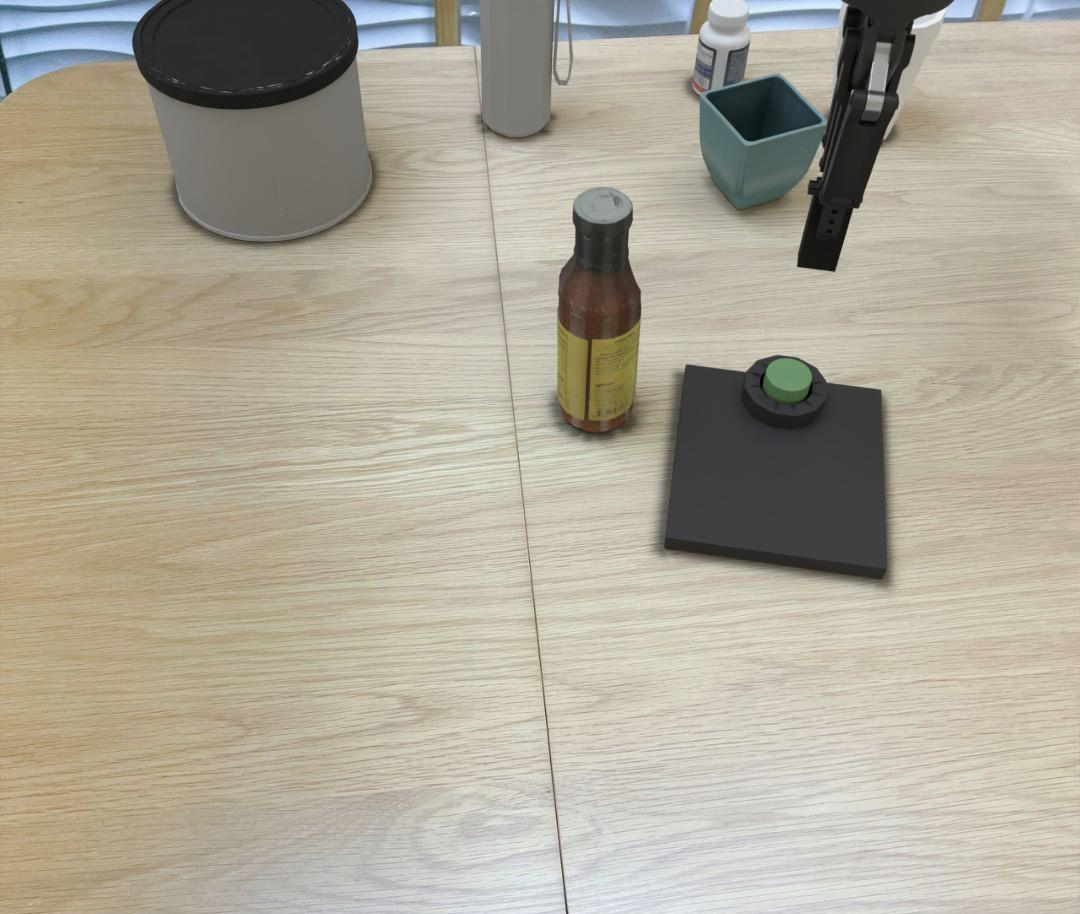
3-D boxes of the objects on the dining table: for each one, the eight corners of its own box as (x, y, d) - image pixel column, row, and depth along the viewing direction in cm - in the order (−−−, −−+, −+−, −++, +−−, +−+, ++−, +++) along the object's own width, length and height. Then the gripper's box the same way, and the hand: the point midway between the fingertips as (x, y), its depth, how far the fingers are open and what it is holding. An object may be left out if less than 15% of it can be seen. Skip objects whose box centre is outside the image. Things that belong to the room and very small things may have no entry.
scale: (876, 394, 90) (886, 368, 88) (882, 579, 80) (894, 556, 77) (684, 369, 92) (688, 343, 89) (663, 548, 81) (668, 524, 78)
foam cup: (886, 97, 116) (924, -26, 106) (919, 149, 111) (962, 24, 100) (801, 104, 115) (830, -20, 104) (829, 156, 110) (863, 32, 99)
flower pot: (729, 228, 103) (746, 144, 95) (684, 175, 107) (697, 91, 100) (809, 206, 105) (831, 122, 98) (761, 155, 110) (779, 71, 102)
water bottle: (471, 137, 110) (463, -132, 90) (490, 94, 115) (487, -172, 94) (560, 151, 109) (572, -118, 89) (576, 107, 114) (591, -158, 93)
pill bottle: (743, 77, 118) (758, -4, 110) (739, 105, 114) (755, 23, 107) (693, 72, 118) (705, -10, 111) (689, 99, 115) (701, 17, 108)
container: (237, 271, 98) (198, 120, 85) (140, 167, 106) (93, 16, 94) (412, 192, 105) (399, 43, 92) (308, 101, 113) (284, -47, 101)
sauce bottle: (641, 390, 90) (669, 186, 74) (621, 445, 87) (646, 243, 70) (565, 372, 91) (576, 167, 75) (542, 425, 88) (549, 222, 72)
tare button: (808, 375, 88) (812, 361, 87) (807, 407, 86) (811, 393, 85) (763, 369, 88) (767, 355, 87) (761, 401, 86) (765, 387, 85)
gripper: (841, -142, 63) (769, 200, 82) (836, -32, 56) (757, 317, 75) (974, -130, 63) (870, 212, 82) (987, -17, 55) (868, 332, 74)
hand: (816, 262), depth 78 cm, fingers closed
